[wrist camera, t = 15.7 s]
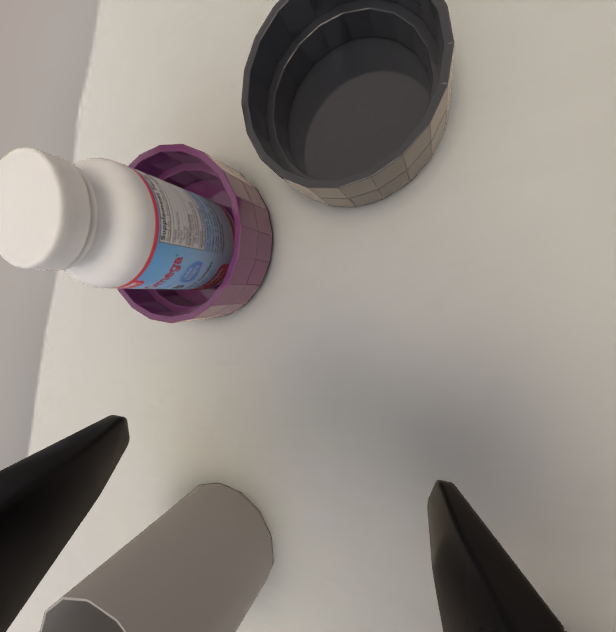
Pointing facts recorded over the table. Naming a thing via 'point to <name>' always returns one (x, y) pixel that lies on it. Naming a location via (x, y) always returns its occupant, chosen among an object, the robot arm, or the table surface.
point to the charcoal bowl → (349, 94)
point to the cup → (176, 572)
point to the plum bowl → (249, 240)
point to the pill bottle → (110, 224)
